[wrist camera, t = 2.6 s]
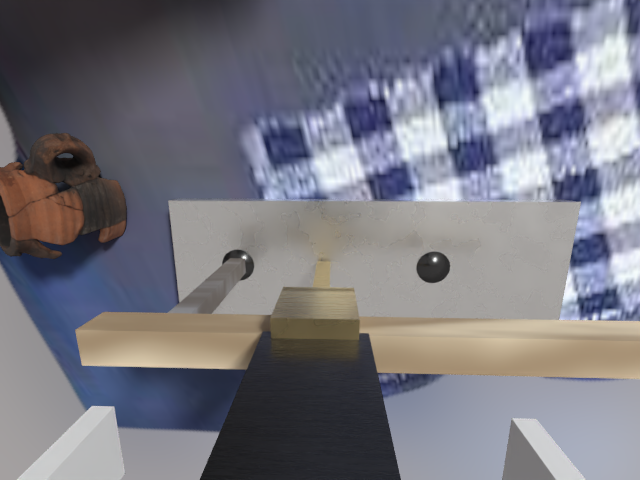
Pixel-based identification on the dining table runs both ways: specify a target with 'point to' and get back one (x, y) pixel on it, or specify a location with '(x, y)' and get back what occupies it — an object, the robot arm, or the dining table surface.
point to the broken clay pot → (57, 199)
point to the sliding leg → (308, 397)
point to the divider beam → (385, 335)
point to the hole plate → (384, 253)
